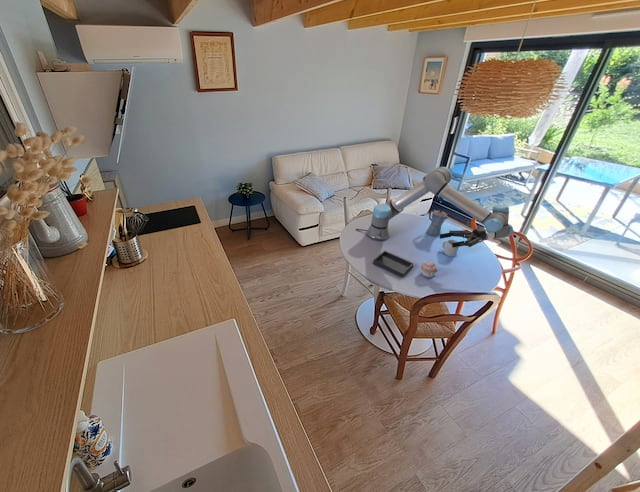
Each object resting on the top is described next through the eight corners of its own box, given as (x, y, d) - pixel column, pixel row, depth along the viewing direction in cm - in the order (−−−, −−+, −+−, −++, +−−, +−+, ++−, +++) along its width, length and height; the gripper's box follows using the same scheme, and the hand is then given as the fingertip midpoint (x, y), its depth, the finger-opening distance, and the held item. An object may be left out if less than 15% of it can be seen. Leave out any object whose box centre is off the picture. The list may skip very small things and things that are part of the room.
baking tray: (373, 263, 183) (373, 260, 182) (384, 254, 192) (384, 250, 190) (402, 277, 171) (403, 274, 169) (412, 266, 180) (413, 263, 178)
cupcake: (430, 269, 177) (434, 256, 172) (438, 279, 169) (443, 266, 164) (415, 269, 177) (419, 256, 172) (423, 279, 169) (427, 266, 164)
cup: (451, 258, 187) (455, 246, 183) (437, 250, 194) (441, 239, 190) (457, 254, 191) (461, 243, 186) (443, 247, 198) (447, 236, 193)
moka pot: (437, 239, 207) (444, 215, 197) (419, 229, 219) (425, 206, 209) (445, 236, 211) (453, 212, 201) (427, 226, 222) (434, 203, 213)
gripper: (497, 248, 156) (458, 255, 158) (469, 232, 180) (435, 238, 181) (498, 236, 154) (458, 243, 155) (469, 221, 178) (435, 227, 179)
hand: (445, 240), depth 168 cm, fingers open, 13 cm apart
